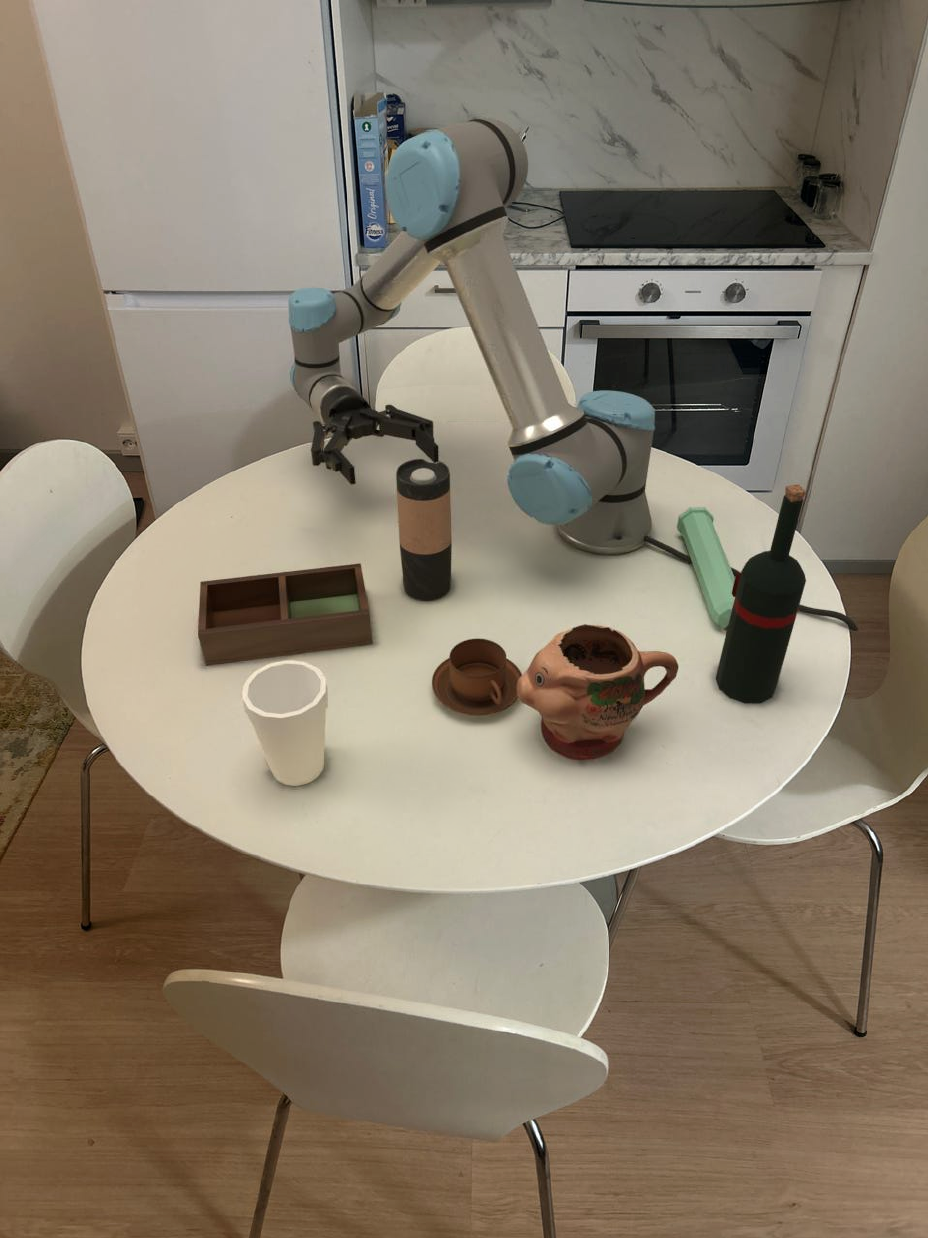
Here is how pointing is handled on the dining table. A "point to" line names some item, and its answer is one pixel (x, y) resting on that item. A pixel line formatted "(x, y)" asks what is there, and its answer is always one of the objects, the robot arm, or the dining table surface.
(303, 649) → the divided box
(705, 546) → the container
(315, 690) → the foam cup
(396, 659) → the dining table surface
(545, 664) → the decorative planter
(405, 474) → the travel mug
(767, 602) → the wine bottle
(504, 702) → the cup and saucer
